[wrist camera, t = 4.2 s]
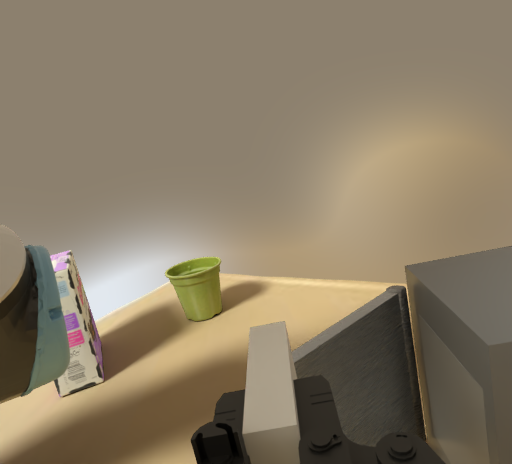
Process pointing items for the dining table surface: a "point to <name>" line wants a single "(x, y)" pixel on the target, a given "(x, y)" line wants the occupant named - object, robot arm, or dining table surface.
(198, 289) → the plant pot
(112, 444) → the dining table surface
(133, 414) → the dining table surface
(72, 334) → the candy box
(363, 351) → the side door
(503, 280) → the grey inset panel box
